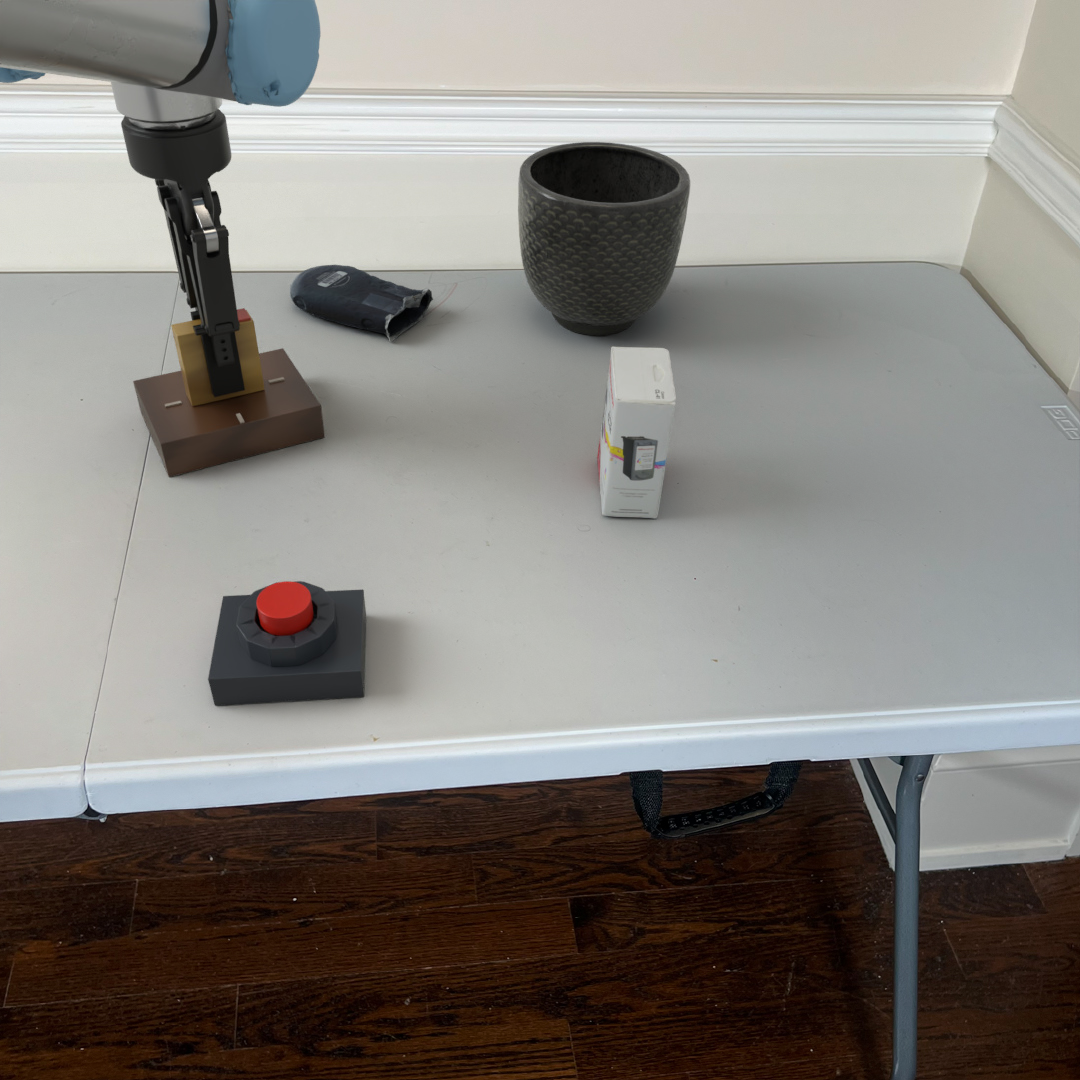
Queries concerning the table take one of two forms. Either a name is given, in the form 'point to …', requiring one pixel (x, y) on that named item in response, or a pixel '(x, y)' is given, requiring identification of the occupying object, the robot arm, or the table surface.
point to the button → (285, 608)
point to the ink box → (635, 431)
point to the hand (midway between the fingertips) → (224, 383)
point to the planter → (600, 231)
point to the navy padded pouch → (359, 299)
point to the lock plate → (229, 417)
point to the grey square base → (290, 652)
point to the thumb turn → (196, 364)
